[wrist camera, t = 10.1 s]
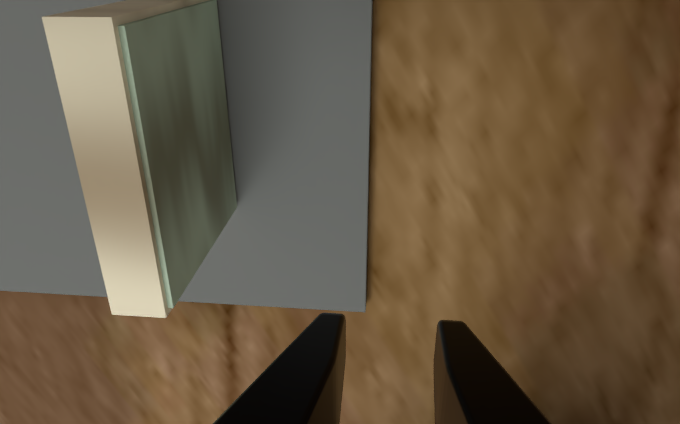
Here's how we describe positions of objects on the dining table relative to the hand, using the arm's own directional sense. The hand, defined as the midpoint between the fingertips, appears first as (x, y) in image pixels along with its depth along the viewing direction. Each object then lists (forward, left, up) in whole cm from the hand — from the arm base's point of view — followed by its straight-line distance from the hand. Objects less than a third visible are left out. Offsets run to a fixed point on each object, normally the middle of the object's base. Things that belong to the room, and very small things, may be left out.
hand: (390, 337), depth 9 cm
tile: (+7, -1, -11) cm, 13 cm away
